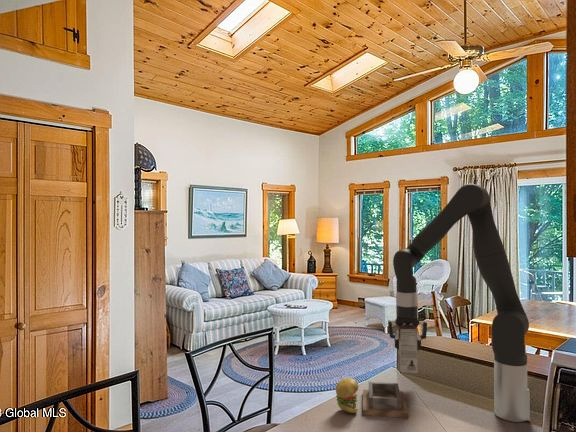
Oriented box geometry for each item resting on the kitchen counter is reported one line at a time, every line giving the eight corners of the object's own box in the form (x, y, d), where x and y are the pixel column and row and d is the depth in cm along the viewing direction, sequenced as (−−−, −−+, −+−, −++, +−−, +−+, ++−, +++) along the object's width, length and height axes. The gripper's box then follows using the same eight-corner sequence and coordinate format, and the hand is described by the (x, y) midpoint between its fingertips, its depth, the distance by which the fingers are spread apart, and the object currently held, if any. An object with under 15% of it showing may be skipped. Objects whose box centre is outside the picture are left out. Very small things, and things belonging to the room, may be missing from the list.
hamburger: (363, 415, 136) (363, 377, 136) (343, 419, 133) (343, 381, 133) (350, 405, 143) (350, 369, 143) (331, 409, 140) (331, 372, 140)
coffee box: (398, 363, 161) (397, 320, 161) (416, 364, 160) (415, 321, 160) (399, 372, 152) (399, 327, 152) (418, 373, 151) (417, 327, 151)
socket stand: (403, 396, 150) (403, 382, 150) (408, 418, 134) (408, 402, 134) (362, 393, 152) (362, 379, 152) (362, 414, 136) (362, 399, 136)
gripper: (425, 302, 158) (426, 347, 158) (386, 301, 161) (387, 346, 161) (428, 306, 151) (429, 353, 151) (387, 305, 154) (388, 352, 153)
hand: (407, 349), depth 156 cm, fingers closed on coffee box, 6 cm apart
